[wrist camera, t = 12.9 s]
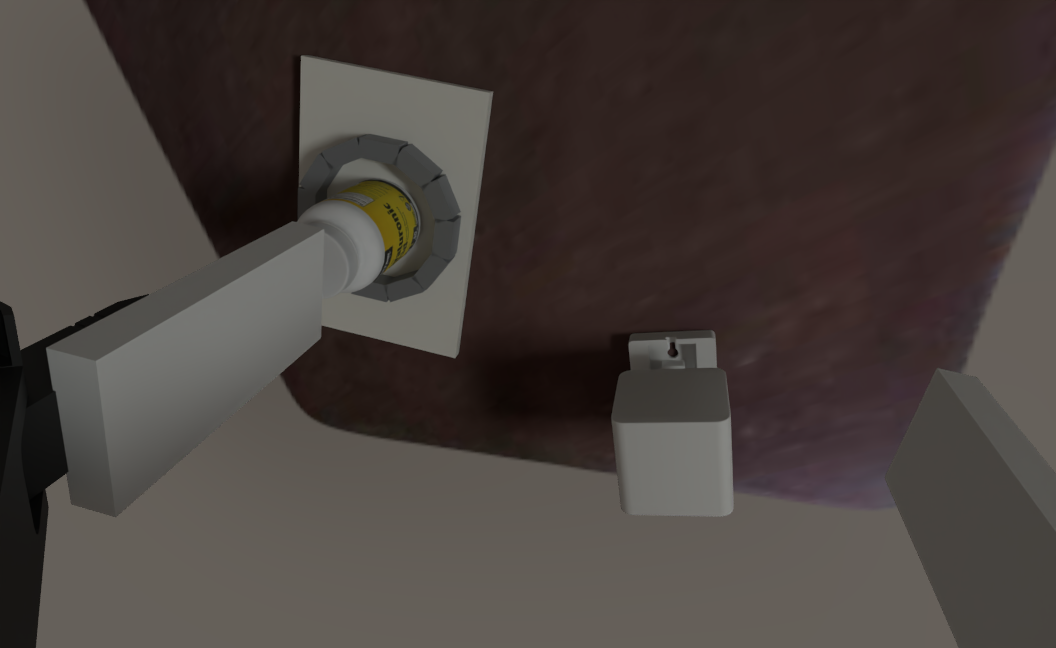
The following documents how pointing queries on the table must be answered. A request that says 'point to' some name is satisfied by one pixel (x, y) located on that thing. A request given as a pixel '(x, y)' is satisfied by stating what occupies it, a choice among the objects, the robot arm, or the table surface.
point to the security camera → (673, 428)
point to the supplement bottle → (363, 233)
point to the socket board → (419, 168)
